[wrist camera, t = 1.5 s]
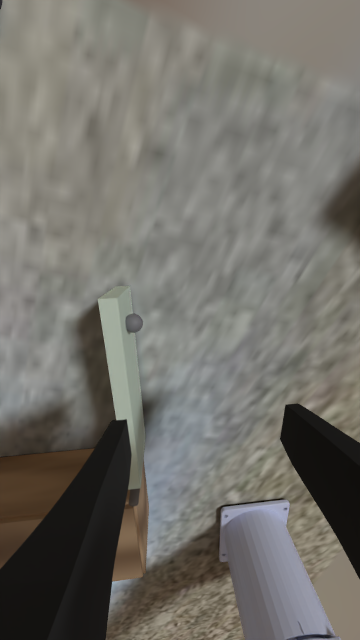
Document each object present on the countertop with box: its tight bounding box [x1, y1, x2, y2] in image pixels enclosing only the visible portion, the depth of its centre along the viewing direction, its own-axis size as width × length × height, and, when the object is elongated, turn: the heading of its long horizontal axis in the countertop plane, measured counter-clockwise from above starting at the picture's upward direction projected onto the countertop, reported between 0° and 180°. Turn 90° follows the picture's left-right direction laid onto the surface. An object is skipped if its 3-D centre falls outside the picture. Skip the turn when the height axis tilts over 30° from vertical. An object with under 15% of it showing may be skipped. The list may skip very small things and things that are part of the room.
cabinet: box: [0, 448, 149, 581], centre depth 18 cm, size 10×15×6 cm, turn 92°
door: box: [98, 286, 145, 490], centre depth 15 cm, size 14×2×5 cm, turn 2°
